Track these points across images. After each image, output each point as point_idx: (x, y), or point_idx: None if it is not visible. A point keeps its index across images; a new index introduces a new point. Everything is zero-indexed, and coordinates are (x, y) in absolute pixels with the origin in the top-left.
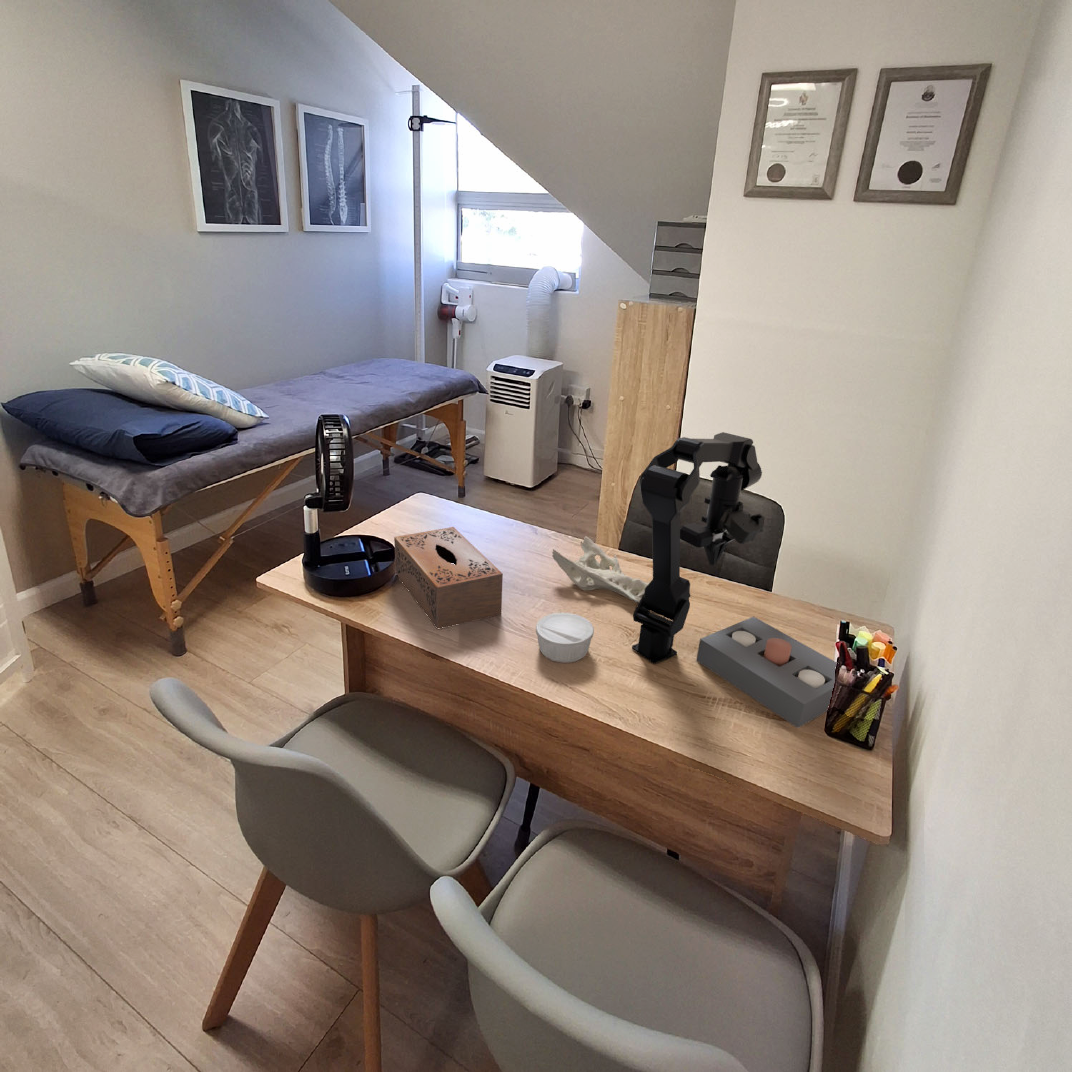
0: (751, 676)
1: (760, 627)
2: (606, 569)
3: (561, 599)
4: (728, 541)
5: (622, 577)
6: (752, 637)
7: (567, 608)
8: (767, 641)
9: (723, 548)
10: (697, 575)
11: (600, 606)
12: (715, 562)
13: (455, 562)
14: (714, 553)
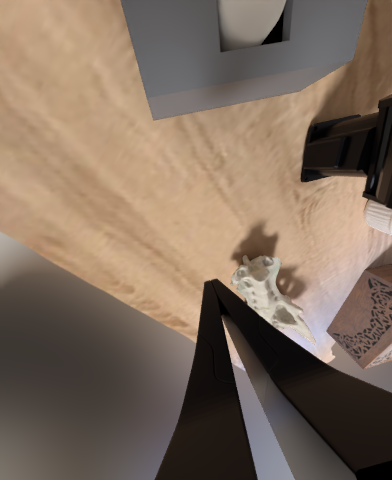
0: None
1: (164, 9)
2: None
3: (308, 282)
4: (253, 466)
5: (269, 299)
6: None
7: (317, 267)
8: None
9: (213, 354)
10: (137, 305)
11: (289, 265)
12: (214, 286)
13: (331, 331)
14: (264, 319)
